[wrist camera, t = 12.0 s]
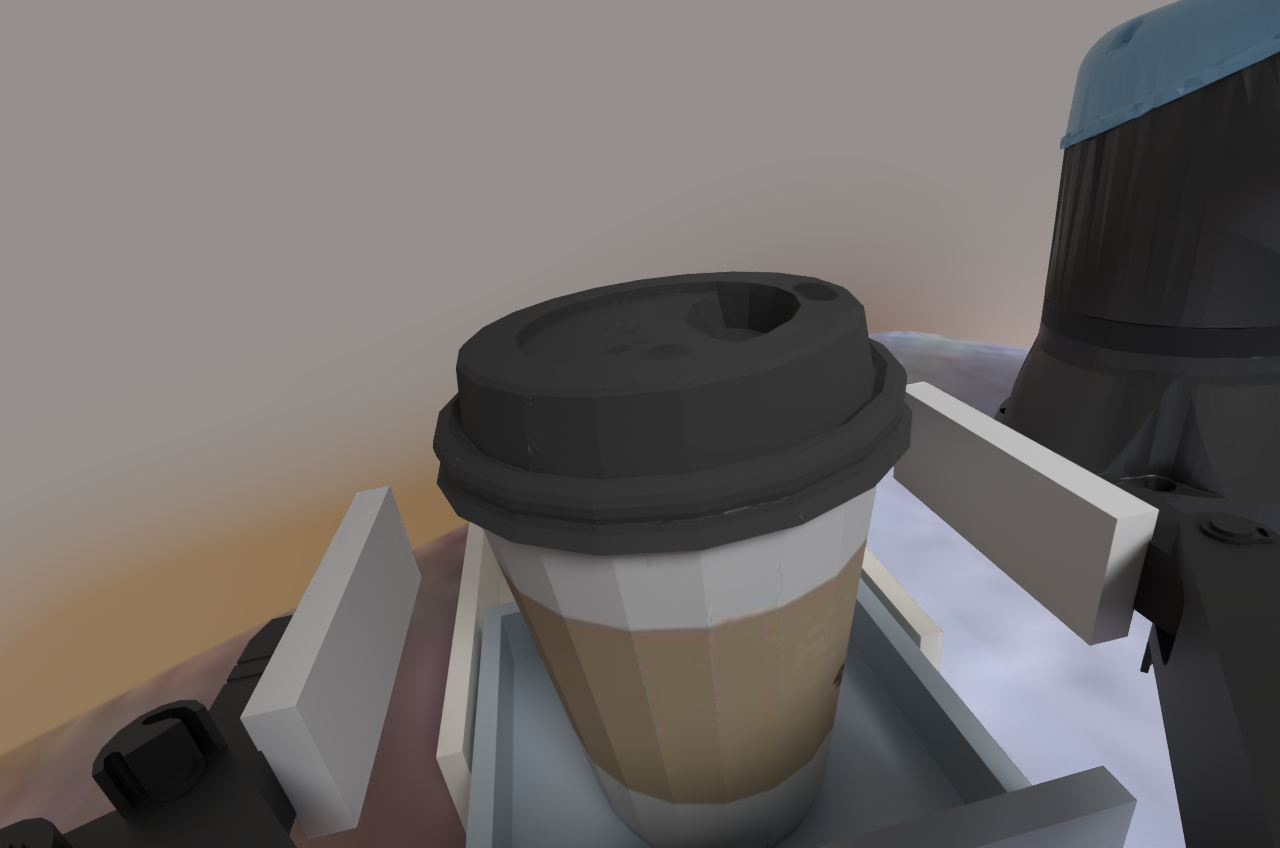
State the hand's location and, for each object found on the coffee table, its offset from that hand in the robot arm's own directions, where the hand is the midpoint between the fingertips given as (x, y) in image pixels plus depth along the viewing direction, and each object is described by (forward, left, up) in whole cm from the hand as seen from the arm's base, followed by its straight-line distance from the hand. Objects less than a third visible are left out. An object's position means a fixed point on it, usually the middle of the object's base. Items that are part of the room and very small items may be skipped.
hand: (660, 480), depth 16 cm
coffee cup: (0, 0, -11) cm, 11 cm away
